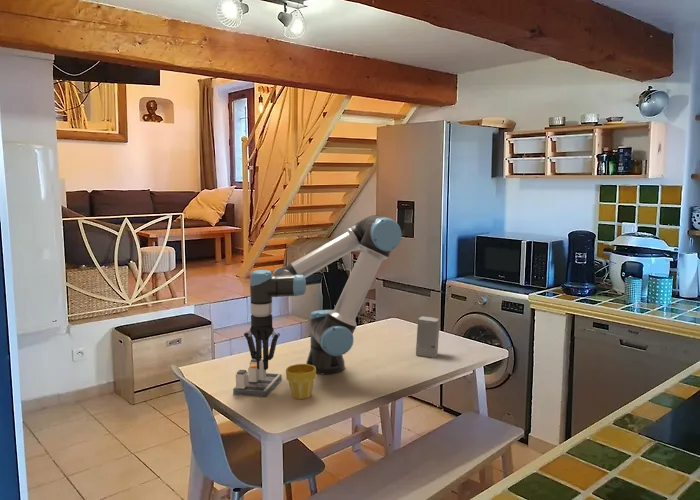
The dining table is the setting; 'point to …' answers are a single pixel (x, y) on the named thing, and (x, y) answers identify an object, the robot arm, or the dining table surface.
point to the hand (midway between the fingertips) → (262, 377)
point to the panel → (260, 386)
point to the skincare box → (427, 336)
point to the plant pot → (301, 380)
